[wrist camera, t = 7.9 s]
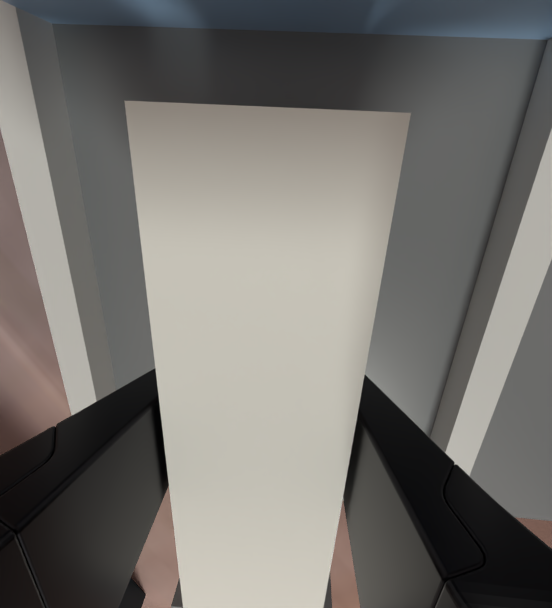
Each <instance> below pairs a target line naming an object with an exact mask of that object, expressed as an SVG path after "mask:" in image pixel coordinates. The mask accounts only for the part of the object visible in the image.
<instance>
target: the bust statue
mask: <svg viewBox="0 0 552 608" xmlns="http://www.w3.org/2000/svg"><path fill="white" fill-rule="evenodd" d="M144 598H145V593H144V592H143V591H142V590H141V589H140V588H139V587H138V586H137V584H136V583H135V582H134V581H133V580H132V579H131V578H130V581H129V583H128V585H127V588H126V590H125V593H124V595H123V598H122V600H121V602H120V605H119V607H118V608H141V607H142V604H143V601H144Z"/></svg>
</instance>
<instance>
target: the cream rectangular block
mask: <svg viewBox="0 0 552 608" xmlns="http://www.w3.org/2000/svg"><path fill="white" fill-rule="evenodd" d="M125 110H126V119H127V127H128V136H129V145H130V153H131V162H132V170H133V179H134V188H135V196H136V205H137V214H138V222H139V231H140V240H141V248H142V257H143V266H144V274H145V283H146V292H147V300H148V309H149V317H150V326H151V335H152V343H153V352H154V361H155V369H156V378H157V387H158V395H159V404H160V413H161V421H162V430H163V438H164V447H165V456H166V464H167V473H168V482H169V490H170V499H171V508H172V516H173V525H174V534H175V542H176V551H177V559H178V568H179V577H180V578H179V581H178V585H177V588H176V592H175V595H174V598H173V602H172V605H171V608H332V599H331V580H330V568H331V562H332V556H333V551H334V545H335V539H336V534H337V528H338V522H339V517H340V511H341V505H342V500H343V494H344V488H345V483H346V477H347V472H348V466H349V460H350V455H351V449H352V443H353V438H354V432H355V426H356V421H357V415H358V409H359V404H360V398H361V392H362V387H363V381H364V375H365V370H366V364H367V359H368V353H369V347H370V342H371V336H372V330H373V325H374V319H375V313H376V308H377V302H378V296H379V291H380V285H381V279H382V274H383V268H384V263H385V257H386V251H387V246H388V240H389V234H390V229H391V223H392V217H393V212H394V206H395V200H396V195H397V189H398V183H399V178H400V172H401V166H402V161H403V155H404V150H405V144H406V138H407V133H408V127H409V121H410V116H411V113H401V112H378V111H355V110H332V109H308V108H285V107H262V106H239V105H216V104H192V103H169V102H146V101H125Z"/></svg>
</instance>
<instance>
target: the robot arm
mask: <svg viewBox="0 0 552 608" xmlns="http://www.w3.org/2000/svg"><path fill="white" fill-rule="evenodd" d="M168 486H169V482H168V473H167V464H166V456H165V447H164V438H163V430H162V421H161V413H160V404H159V395H158V387H157V378H156V369H155V368H154V369H152V370H151V371H149V372H147V373H145V374H144V375H142V376H140V377H138V378H137V379H135V380H133V381H131V382H130V383H128V384H126V385H124V386H123V387H121V388H119V389H117V390H116V391H114V392H112V393H110V394H109V395H107V396H105V397H103V398H102V399H100V400H98V401H96V402H95V403H93V404H91V405H89V406H88V407H86V408H84V409H82V410H81V411H79V412H77V413H75V414H74V415H72V416H70V417H68V418H67V419H65V420H63V421H61V422H60V423H58V424H57V425H56V427H55V426H53V427H51V428H49V429H47V430H46V431H44V432H42V433H40V434H39V435H37V436H35V437H33V438H31V439H30V440H28V441H26V442H24V443H22V444H20V445H19V446H17V447H15V448H13V449H11V450H10V451H8V452H6V453H4V454H2V455H0V608H118V607H119V605H120V602H121V600H122V598H123V595H124V593H125V590H126V588H127V585H128V583H129V581H130V578H131V576H132V573H133V571H134V568H135V566H136V563H137V561H138V559H139V556H140V554H141V551H142V549H143V546H144V544H145V542H146V539H147V537H148V534H149V532H150V529H151V527H152V525H153V522H154V520H155V517H156V515H157V512H158V510H159V507H160V505H161V503H162V500H163V498H164V495H165V493H166V490H167V488H168ZM343 500H344V507H345V513H346V519H347V526H348V532H349V538H350V545H351V551H352V557H353V564H354V570H355V576H356V583H357V589H358V595H359V602H360V608H552V549H551V548H550V547H549V546H547V545H546V544H545V543H544V542H543V541H541V540H540V539H539V538H538V537H537V536H536V535H534V534H533V533H532V532H531V531H530V530H528V529H527V528H526V527H525V526H524V525H523V524H521V523H520V522H519V521H518V520H517V519H516V518H515V517H513V516H512V515H511V514H510V513H509V512H508V511H507V510H505V509H504V508H503V507H502V506H501V505H500V504H498V503H497V502H496V501H495V500H494V499H493V498H492V497H491V496H490V495H489V494H488V493H487V492H486V491H484V490H483V489H482V488H481V487H480V486H479V485H478V484H477V483H476V482H475V481H474V480H473V479H472V478H471V477H470V476H469V475H468V474H467V473H466V472H465V471H464V470H462V469H461V468H460V467H459V466H458V465H457V464H455V465H454V461H453V460H452V459H451V458H450V457H449V456H448V455H447V454H446V453H445V452H444V451H443V450H442V449H441V448H440V447H439V446H438V445H437V444H436V443H435V442H434V441H433V440H432V439H431V438H430V437H429V436H428V435H427V434H426V433H425V432H423V431H422V430H421V429H420V428H419V427H418V426H417V425H416V424H415V423H414V422H413V421H412V420H411V419H410V418H409V417H408V416H407V415H406V414H405V413H404V412H403V411H402V410H401V409H400V408H399V407H398V406H397V405H396V404H395V403H394V402H393V401H392V400H391V399H390V398H389V397H388V396H387V395H386V394H385V393H384V392H383V391H382V390H381V389H380V388H379V387H378V386H377V385H375V384H374V383H373V382H372V381H371V380H370V379H369V378H368V377H367V376H366V375H364V381H363V387H362V392H361V398H360V404H359V409H358V415H357V421H356V426H355V432H354V438H353V443H352V449H351V455H350V460H349V466H348V472H347V477H346V483H345V488H344V494H343Z"/></svg>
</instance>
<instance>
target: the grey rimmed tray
mask: <svg viewBox="0 0 552 608" xmlns="http://www.w3.org/2000/svg"><path fill="white" fill-rule="evenodd" d="M125 101H146V102H169V103H192V104H216V105H239V106H262V107H285V108H308V109H332V110H355V111H378V112H401V113H411V116H410V121H409V127H408V133H407V138H406V144H405V150H404V155H403V161H402V166H401V172H400V178H399V183H398V189H397V195H396V200H395V206H394V212H393V217H392V223H391V229H390V234H389V240H388V246H387V251H386V257H385V263H384V268H383V274H382V279H381V285H380V291H379V296H378V302H377V308H376V313H375V319H374V325H373V330H372V336H371V342H370V347H369V353H368V359H367V364H366V370H365V375H366V376H367V377H368V378H369V379H370V380H371V381H372V382H373V383H374V384H375V385H377V386H378V387H379V388H380V389H381V390H382V391H383V392H384V393H385V394H386V395H387V396H388V397H389V398H390V399H391V400H392V401H393V402H394V403H395V404H396V405H397V406H398V407H399V408H400V409H401V410H402V411H403V412H404V413H405V414H406V415H407V416H408V417H409V418H410V419H411V420H412V421H413V422H414V423H415V424H416V425H417V426H418V427H419V428H420V429H421V430H422V431H423V432H425V433H426V434H427V435H428V436H429V437H430V438H431V439H432V440H433V441H434V442H435V443H436V444H437V445H438V446H439V447H440V448H441V449H442V450H443V451H444V452H445V453H446V454H447V455H448V456H449V457H450V458H451V459H452V460H453V461H454V465H455V464H457V465H458V466H459V467H460V468H461V469H462V470H464V471H465V472H466V473H467V474H468V475H469V476H470V477H471V478H472V479H473V480H474V481H475V482H476V483H477V484H478V485H479V486H480V487H481V488H482V489H483V490H484V491H486V492H487V493H488V494H489V495H490V496H491V497H492V498H493V499H494V500H495V501H496V502H497V503H498V504H500V505H501V506H502V507H503V508H504V509H505V510H507V511H508V512H509V513H510V514H511V515H512V516H513V517H518V518H528V519H538V520H548V521H552V0H0V129H1V133H2V137H3V141H4V145H5V149H6V153H7V157H8V161H9V165H10V169H11V173H12V177H13V181H14V185H15V189H16V193H17V197H18V201H19V205H20V209H21V213H22V217H23V221H24V225H25V229H26V233H27V237H28V241H29V246H30V250H31V254H32V258H33V262H34V266H35V270H36V274H37V278H38V282H39V286H40V290H41V294H42V298H43V302H44V306H45V310H46V314H47V318H48V322H49V326H50V330H51V334H52V338H53V342H54V346H55V350H56V354H57V358H58V363H59V367H60V371H61V375H62V379H63V383H64V387H65V391H66V395H67V399H68V403H69V407H70V411H71V415H74V414H75V413H77V412H79V411H81V410H82V409H84V408H86V407H88V406H89V405H91V404H93V403H95V402H96V401H98V400H100V399H102V398H103V397H105V396H107V395H109V394H110V393H112V392H114V391H116V390H117V389H119V388H121V387H123V386H124V385H126V384H128V383H130V382H131V381H133V380H135V379H137V378H138V377H140V376H142V375H144V374H145V373H147V372H149V371H151V370H152V369H154V368H155V361H154V352H153V343H152V335H151V326H150V317H149V309H148V300H147V292H146V283H145V274H144V266H143V257H142V248H141V240H140V231H139V222H138V214H137V205H136V196H135V188H134V179H133V170H132V162H131V153H130V145H129V136H128V127H127V119H126V110H125Z"/></svg>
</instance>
